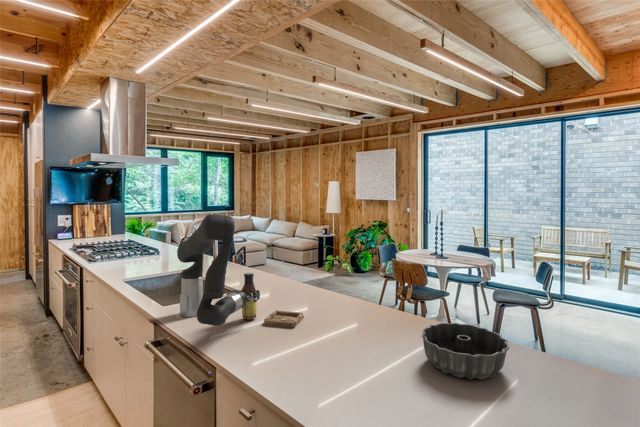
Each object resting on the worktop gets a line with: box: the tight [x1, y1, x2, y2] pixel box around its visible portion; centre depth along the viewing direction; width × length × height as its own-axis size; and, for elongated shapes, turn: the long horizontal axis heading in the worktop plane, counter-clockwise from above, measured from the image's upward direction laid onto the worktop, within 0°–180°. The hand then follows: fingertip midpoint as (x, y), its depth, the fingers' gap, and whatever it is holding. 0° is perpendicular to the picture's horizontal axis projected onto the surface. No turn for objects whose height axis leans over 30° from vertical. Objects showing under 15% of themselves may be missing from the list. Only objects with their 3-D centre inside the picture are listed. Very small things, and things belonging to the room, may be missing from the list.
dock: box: [262, 310, 305, 329], centre depth 162 cm, size 14×14×2 cm
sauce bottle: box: [241, 272, 257, 320], centre depth 163 cm, size 7×6×20 cm
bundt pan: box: [421, 322, 510, 381], centre depth 120 cm, size 26×26×10 cm
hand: (251, 291), depth 165 cm, fingers closed on sauce bottle, 6 cm apart
